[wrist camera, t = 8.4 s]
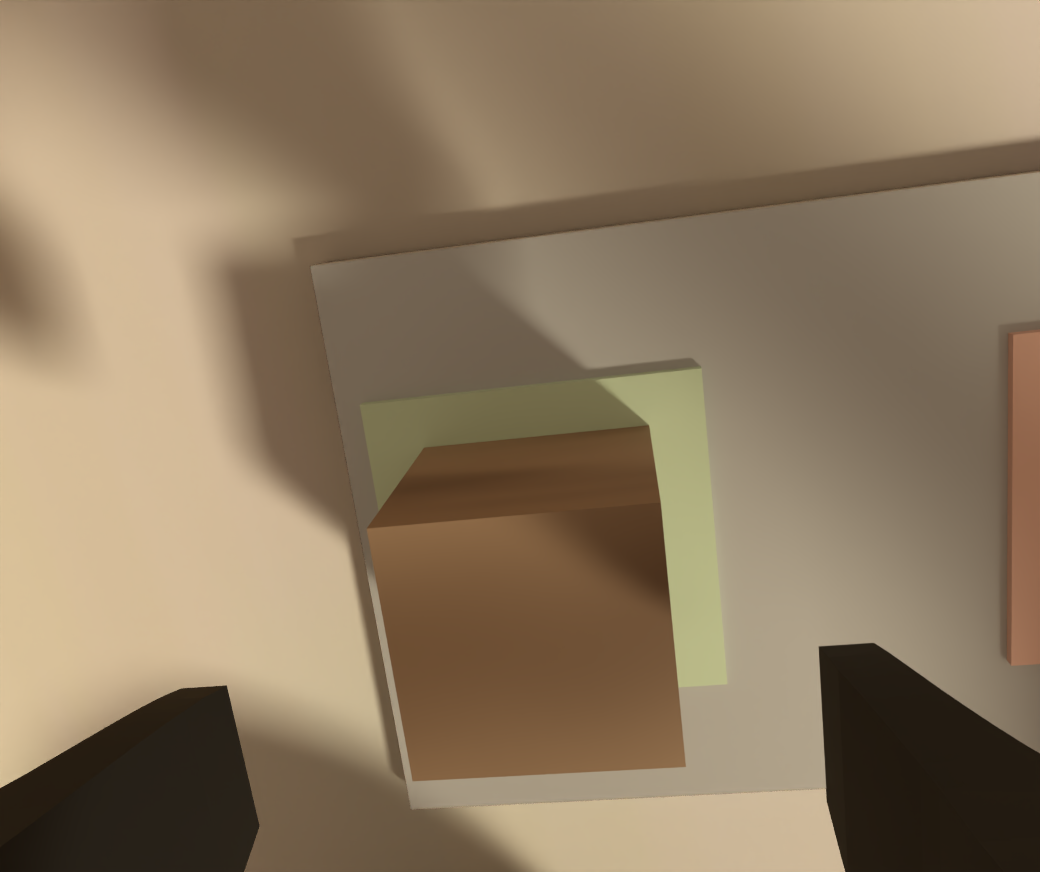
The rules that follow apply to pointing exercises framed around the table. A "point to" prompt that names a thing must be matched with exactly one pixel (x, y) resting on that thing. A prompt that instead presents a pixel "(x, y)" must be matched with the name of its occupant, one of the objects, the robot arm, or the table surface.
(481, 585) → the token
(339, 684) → the table surface
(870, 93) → the table surface
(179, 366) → the table surface
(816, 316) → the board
